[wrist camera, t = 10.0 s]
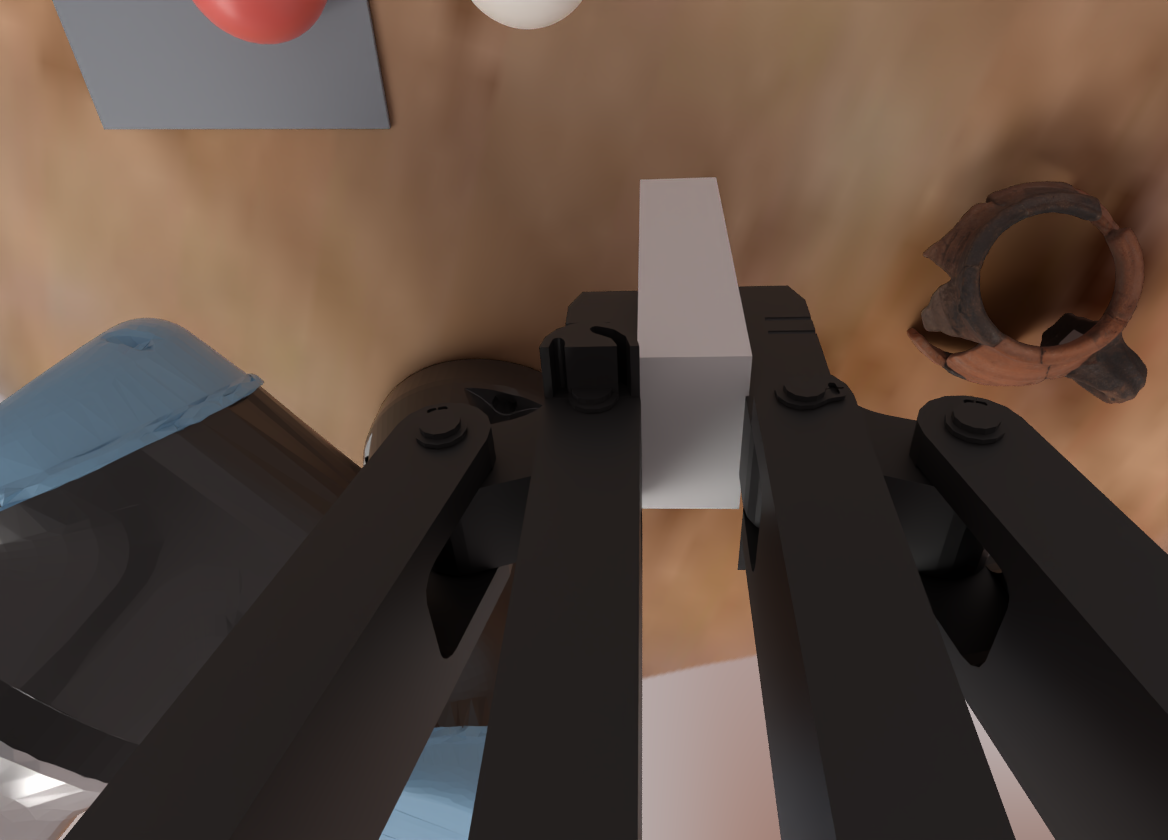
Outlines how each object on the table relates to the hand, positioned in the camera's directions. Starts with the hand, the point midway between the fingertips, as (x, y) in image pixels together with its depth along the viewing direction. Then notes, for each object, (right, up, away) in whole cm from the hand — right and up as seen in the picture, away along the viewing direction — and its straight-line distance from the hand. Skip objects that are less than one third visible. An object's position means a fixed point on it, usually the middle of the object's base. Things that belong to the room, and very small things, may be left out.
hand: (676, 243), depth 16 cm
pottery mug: (+19, +3, +22) cm, 30 cm away
